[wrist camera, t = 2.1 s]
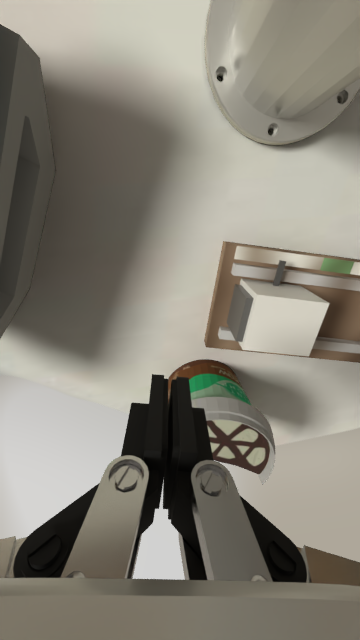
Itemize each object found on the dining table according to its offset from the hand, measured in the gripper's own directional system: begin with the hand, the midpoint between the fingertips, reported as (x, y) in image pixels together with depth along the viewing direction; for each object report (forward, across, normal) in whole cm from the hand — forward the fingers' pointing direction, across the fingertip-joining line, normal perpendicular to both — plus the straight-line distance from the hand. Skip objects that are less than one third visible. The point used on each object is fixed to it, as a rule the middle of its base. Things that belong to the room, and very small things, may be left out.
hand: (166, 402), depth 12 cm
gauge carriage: (+15, -9, -2) cm, 17 cm away
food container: (+17, -7, +10) cm, 20 cm away
